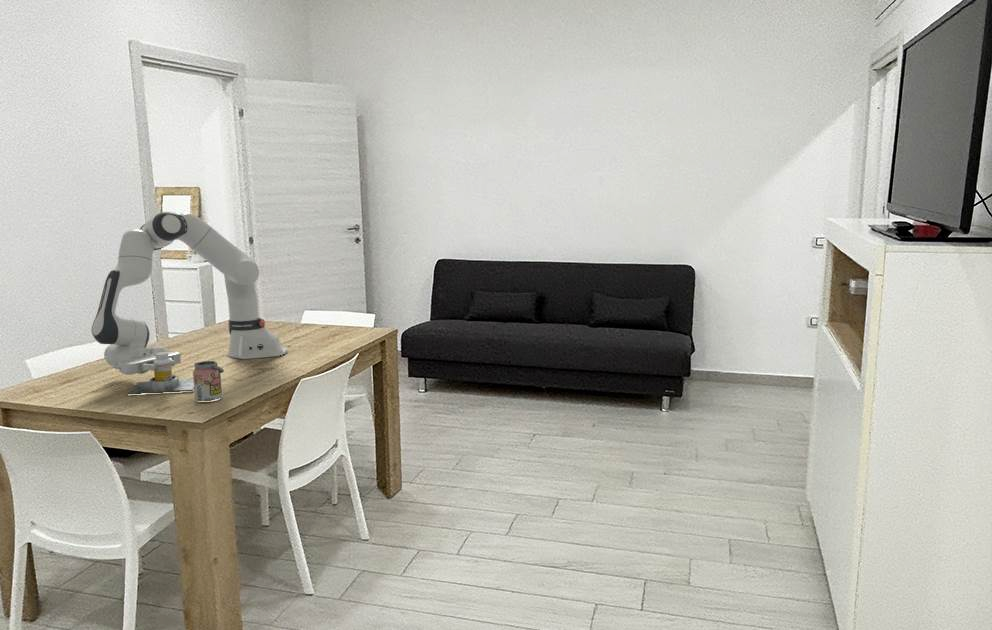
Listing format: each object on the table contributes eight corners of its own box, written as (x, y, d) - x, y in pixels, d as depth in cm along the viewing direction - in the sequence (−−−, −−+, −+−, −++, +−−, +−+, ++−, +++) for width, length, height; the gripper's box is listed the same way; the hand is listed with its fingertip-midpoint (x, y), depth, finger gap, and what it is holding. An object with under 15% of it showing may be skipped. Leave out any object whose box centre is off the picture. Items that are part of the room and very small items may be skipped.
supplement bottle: (158, 379, 266) (156, 351, 265) (174, 379, 267) (172, 351, 265) (152, 383, 261) (150, 355, 259) (169, 383, 261) (167, 354, 260)
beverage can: (210, 394, 257) (207, 358, 255) (230, 397, 254) (228, 360, 251) (189, 402, 248) (186, 365, 246) (210, 405, 245) (207, 367, 243)
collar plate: (199, 381, 273) (199, 371, 272) (192, 392, 259) (191, 382, 259) (138, 384, 269) (137, 374, 269) (127, 396, 256) (126, 385, 255)
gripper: (109, 357, 261) (134, 362, 253) (165, 345, 277) (189, 350, 270) (111, 375, 262) (136, 381, 254) (166, 363, 279) (191, 368, 271)
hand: (164, 365), depth 262 cm, fingers closed on supplement bottle, 5 cm apart
